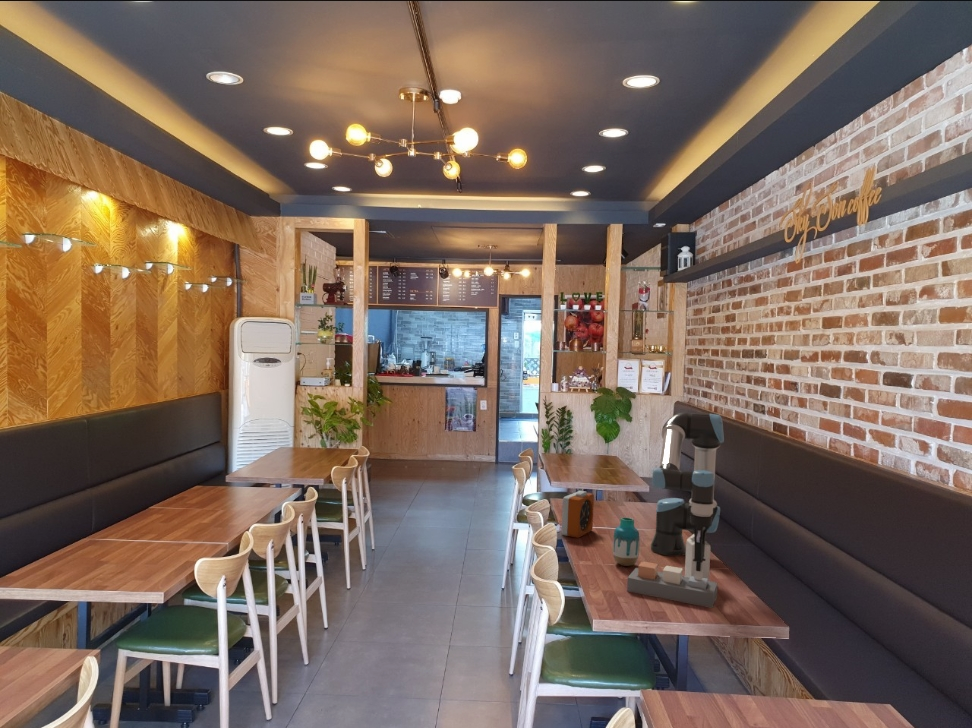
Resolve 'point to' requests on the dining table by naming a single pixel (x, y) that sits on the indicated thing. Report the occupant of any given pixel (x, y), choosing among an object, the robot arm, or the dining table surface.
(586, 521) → the alarm clock
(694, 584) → the key slate
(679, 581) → the key ivory
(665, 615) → the dining table surface
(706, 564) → the milk carton
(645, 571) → the key rust
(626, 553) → the vase
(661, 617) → the dining table surface
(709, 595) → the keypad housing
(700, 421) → the robot arm
